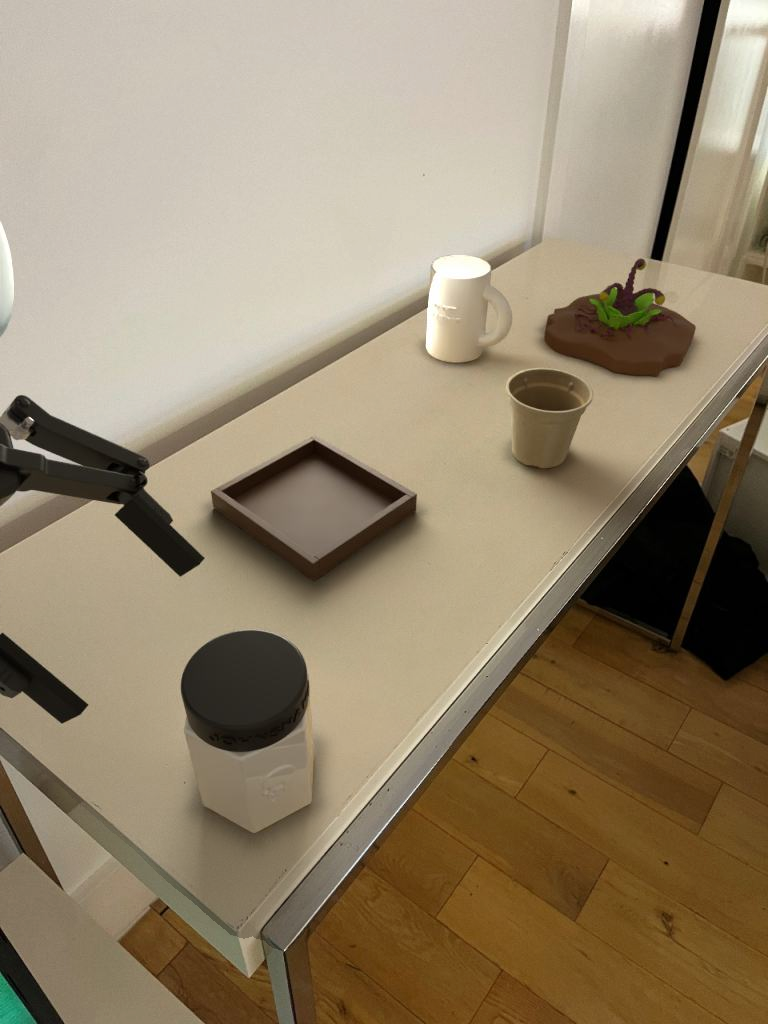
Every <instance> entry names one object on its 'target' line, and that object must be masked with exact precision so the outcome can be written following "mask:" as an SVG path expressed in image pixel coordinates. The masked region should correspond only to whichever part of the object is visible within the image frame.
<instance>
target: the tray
mask: <svg viewBox="0 0 768 1024" xmlns="http://www.w3.org/2000/svg"><path fill="white" fill-rule="evenodd" d="M210 495H211V501H212V507H213V509H214V510H216V512H217V513H220V514H221V516H223V517H225V518H226V519H227V520H228V521H230V522H232V523H233V524H234V525H236V526H237V527H239V528H240V529H241V530H243V531H244V532H246V534H248V535H250V536H251V537H252V538H254V539H255V540H257V541H258V542H260V544H262V545H264V546H265V548H267V549H269V550H270V551H272V552H273V553H275V554H276V555H277V556H279V557H280V558H281V559H282V560H284V561H286V562H287V563H288V564H290V565H291V566H292V567H294V568H295V569H297V570H298V571H299V572H300V573H302V574H303V575H305V576H306V577H308V578H309V579H310V580H312V581H313V582H315V581H317V580H318V579H320V578H321V577H323V576H324V575H326V574H327V573H328V572H330V571H331V570H333V569H335V568H336V567H337V566H339V565H340V564H342V563H343V562H344V561H346V560H347V559H349V558H350V557H352V556H354V555H355V554H356V553H358V552H359V551H360V550H362V549H363V548H365V547H366V546H368V545H369V544H370V543H372V542H373V541H375V540H377V539H378V538H379V537H381V536H382V535H383V534H385V533H387V532H388V531H389V530H391V529H392V528H394V527H395V526H397V525H398V524H399V523H401V522H402V521H404V520H405V519H406V518H408V517H410V516H411V515H413V514H414V513H415V512H416V511H417V501H418V500H417V499H418V494H417V493H416V492H414V491H412V490H411V489H409V488H408V487H405V486H404V485H402V484H401V483H399V482H397V481H395V480H394V479H392V478H390V477H388V476H387V475H385V474H383V473H382V472H380V471H378V470H376V468H373V467H371V466H370V465H368V464H366V463H364V462H363V461H361V460H359V459H358V458H356V457H355V456H353V455H351V454H349V453H347V452H346V451H344V450H342V449H340V448H339V447H337V446H335V445H334V444H332V443H330V442H328V441H327V440H325V439H323V438H321V437H320V436H318V435H316V434H313V435H311V436H309V437H307V438H306V439H304V440H302V441H300V442H298V443H296V444H294V445H293V446H290V447H289V448H287V449H285V450H283V451H282V452H280V453H277V454H275V455H274V456H272V457H270V458H269V459H267V460H265V461H263V462H262V463H261V462H260V463H259V464H258V465H256V466H254V467H252V468H250V469H248V470H247V471H245V472H243V473H241V474H239V475H237V476H236V477H234V478H232V479H230V480H229V481H227V482H225V483H223V484H221V485H220V486H218V487H216V488H214V489H213V490H210Z"/></svg>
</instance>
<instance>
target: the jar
mask: <svg viewBox="0 0 768 1024" xmlns="http://www.w3.org/2000/svg"><path fill="white" fill-rule="evenodd" d="M181 674H182V675H181V678H180V694H181V699H182V703H183V707H184V711H185V715H186V716H185V722H184V727H183V733H184V736H185V740H186V745H187V748H188V752H189V756H190V760H191V764H192V768H193V772H194V776H195V780H196V783H197V787H198V792H199V794H200V799H201V803H202V806H204V807H205V808H207V809H209V810H211V811H213V812H215V813H216V814H218V815H219V816H221V817H223V818H225V819H226V820H228V821H231V822H232V823H234V824H235V825H237V826H239V827H241V828H243V829H244V830H246V831H248V832H250V833H251V834H256V833H258V832H261V831H263V830H264V829H266V828H269V827H270V826H271V825H273V824H276V823H277V822H279V821H281V820H283V819H284V818H287V817H288V816H290V815H292V814H294V813H295V812H298V811H299V810H301V809H303V808H306V807H307V806H308V805H310V804H311V803H312V801H313V783H314V782H313V780H314V760H315V744H314V743H315V742H314V741H315V740H314V731H313V730H314V729H313V716H312V715H313V714H312V702H311V700H312V699H311V691H310V690H311V689H310V676H309V673H308V667H307V663H306V661H305V658H304V656H303V653H302V652H301V651H300V650H299V648H298V647H297V646H296V645H295V644H294V643H293V642H292V641H291V640H289V639H288V638H286V637H284V636H282V635H281V634H278V633H276V632H272V631H269V630H264V629H256V628H255V629H254V628H253V629H252V628H251V629H249V628H248V629H239V630H238V629H237V630H234V631H230V632H226V633H223V634H221V635H218V636H216V637H214V638H212V639H210V640H208V642H206V643H205V644H203V645H202V646H201V647H200V648H198V649H197V650H196V651H195V652H194V653H193V654H192V656H191V657H190V659H189V660H188V661H187V663H186V664H185V667H184V669H183V671H182V673H181Z"/></svg>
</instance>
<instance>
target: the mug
mask: <svg viewBox="0 0 768 1024" xmlns="http://www.w3.org/2000/svg"><path fill="white" fill-rule="evenodd" d="M492 271H493V270H492V266H491V264H490V263H489V262H487V260H485V259H483V258H480V257H477V256H473V255H466V254H448V255H443V256H440V257H438V258H436V259H434V260H433V261H432V262H431V264H430V269H429V288H428V305H427V306H428V307H427V311H426V313H427V321H426V322H427V323H426V326H427V327H426V340H425V349H426V351H427V353H428V354H429V355H430V356H431V357H432V358H434V359H436V360H439V361H442V362H446V363H457V364H459V363H467V362H471V361H474V360H476V359H478V358H480V356H481V355H482V353H483V351H484V348H488V347H492V346H496V345H497V344H499V343H501V342H502V341H503V340H505V339H506V338H507V336H508V334H509V333H510V330H511V327H512V324H513V313H512V308H511V305H510V303H509V301H508V299H507V298H506V297H505V295H504V294H503V292H501V291H500V290H499V289H498V288H496V287H495V286H493V285H491V281H492V280H491V279H492ZM489 303H490V304H491V305H492V307H493V308H494V311H495V312H496V316H497V323H496V324H497V325H496V326H495V327H494V329H493V330H492V331H490V332H486V325H487V317H488V306H489Z"/></svg>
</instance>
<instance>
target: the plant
mask: <svg viewBox="0 0 768 1024" xmlns="http://www.w3.org/2000/svg"><path fill="white" fill-rule="evenodd" d="M646 266H647V262H646V260H645V259H644V258H637V260H636V261H635V262H634V263H633V266H632V267H631V268H630V270H631V271H630V272H629V273H628V277H627V279H626V280H627V281H625V286H623V285H622V284H621V283H620V282H613V284H609V285H607V286H606V288H604V289H603V290H601V292H599V293H593V294H588V295H584V296H580V297H578V298H576V299H574V300H573V301H572V302H571V303H569V304H568V305H567V306H564V307H558V308H555V309H554V310H553V313H550V314H549V315H548V316H547V317H546V318H547V319H546V324H545V331H544V337H543V340H544V342H545V343H546V345H547V346H548V347H549V348H550V349H551V350H552V351H554V352H556V353H558V354H561V355H564V356H568V357H572V358H577V359H581V360H583V361H587V362H589V363H593V364H595V365H597V366H600V367H603V368H605V369H607V370H608V371H611V372H613V373H615V374H626V375H631V376H653V377H658V376H659V375H660V373H661V371H663V370H665V369H668V368H674V367H676V368H677V367H679V366H680V365H681V364H682V363H683V361H684V358H685V357H686V356H687V355H686V354H687V353H688V351H689V348H690V346H691V344H692V342H693V340H694V337H695V333H696V328H697V327H696V325H695V324H694V323H692V322H691V321H689V320H688V319H687V318H686V317H684V316H683V315H681V314H680V313H679V312H677V311H675V310H672V309H670V308H668V307H665V306H663V304H665V301H666V296H665V294H664V293H663V292H662V291H661V290H658V289H657V288H651V287H648V288H642V289H641V290H639V291H637V292H634V290H635V288H634V284H635V279H636V274H637V271H642V270H645V268H646ZM633 292H634V293H633Z"/></svg>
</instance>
